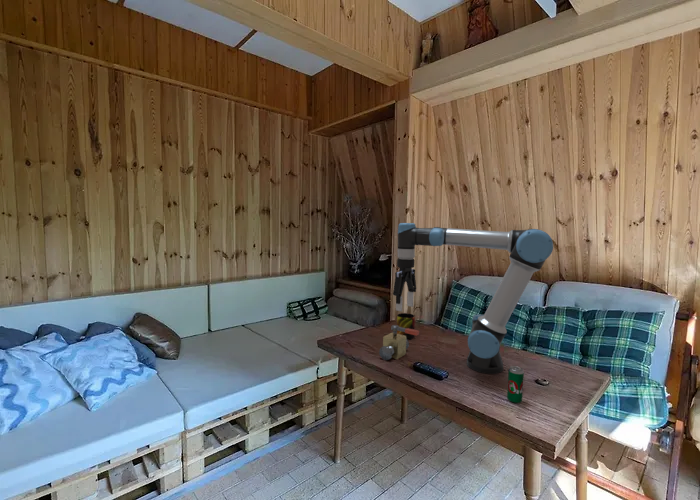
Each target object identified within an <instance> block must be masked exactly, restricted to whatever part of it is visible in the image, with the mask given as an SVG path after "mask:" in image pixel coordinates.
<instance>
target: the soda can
mask: <svg viewBox="0 0 700 500" xmlns="http://www.w3.org/2000/svg"><path fill="white" fill-rule="evenodd" d="M524 376H525V372H524V369H523V368H522V367H519V366H516V365H511V366H509V368H508V370H507V387H506V388H507V389H506V391H507V392H506V399H507V400H508V401H509V402H510V403H514V404H520V403H522V402H523V393H524V381H525V380H524V379H525V377H524Z"/></svg>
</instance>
